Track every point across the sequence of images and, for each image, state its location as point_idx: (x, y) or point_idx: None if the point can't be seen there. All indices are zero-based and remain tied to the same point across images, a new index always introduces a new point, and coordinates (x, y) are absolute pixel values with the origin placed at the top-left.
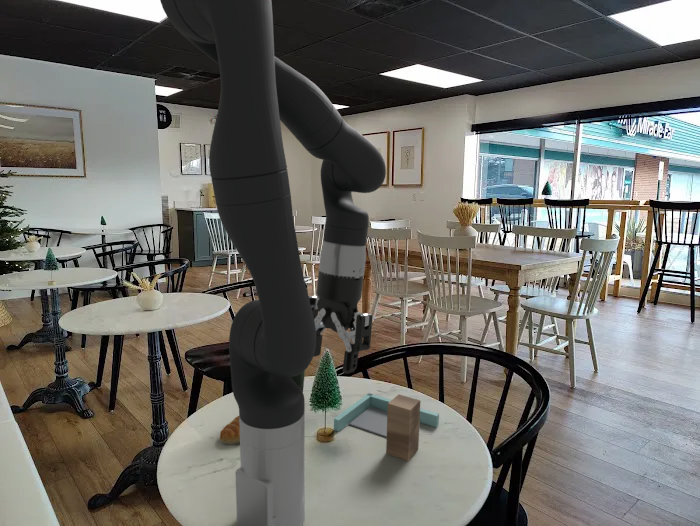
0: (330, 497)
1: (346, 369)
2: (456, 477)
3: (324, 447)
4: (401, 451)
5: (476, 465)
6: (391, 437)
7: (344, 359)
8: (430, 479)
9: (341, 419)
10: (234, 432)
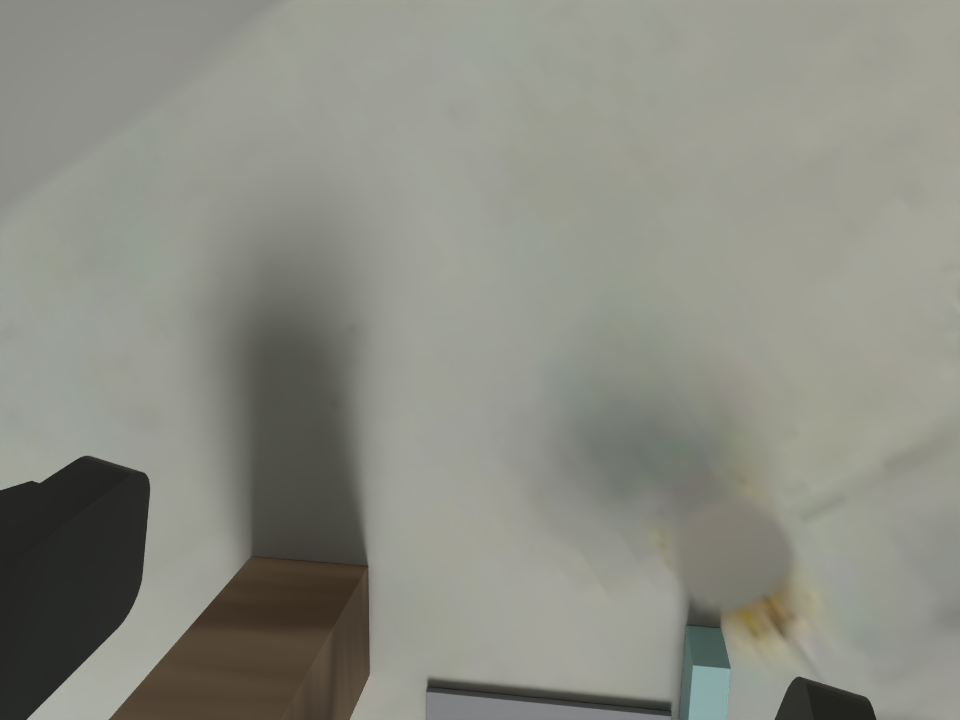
0: (409, 118)
1: (60, 481)
2: None
3: (673, 459)
4: (271, 577)
5: None
6: (311, 613)
7: (5, 549)
8: None
9: (690, 687)
10: None
